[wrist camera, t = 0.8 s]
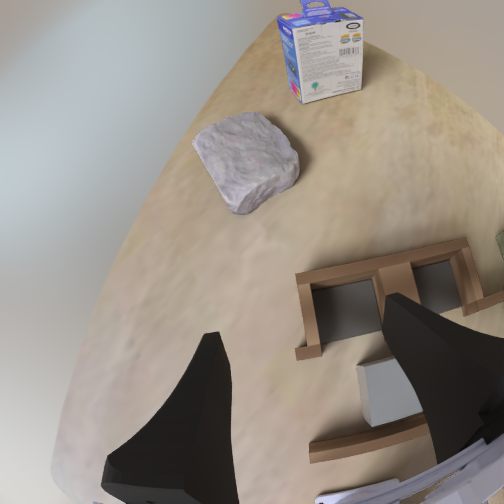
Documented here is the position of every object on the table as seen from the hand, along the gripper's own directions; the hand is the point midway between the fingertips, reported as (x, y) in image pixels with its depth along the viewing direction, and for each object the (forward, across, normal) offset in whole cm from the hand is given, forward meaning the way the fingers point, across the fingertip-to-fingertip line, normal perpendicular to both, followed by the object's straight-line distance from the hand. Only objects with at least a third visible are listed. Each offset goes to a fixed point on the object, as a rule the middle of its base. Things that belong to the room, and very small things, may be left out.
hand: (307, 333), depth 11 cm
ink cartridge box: (+32, -13, -12) cm, 37 cm away
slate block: (+5, -8, +13) cm, 16 cm away
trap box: (+6, -13, +11) cm, 18 cm away
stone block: (+25, 0, -3) cm, 25 cm away
